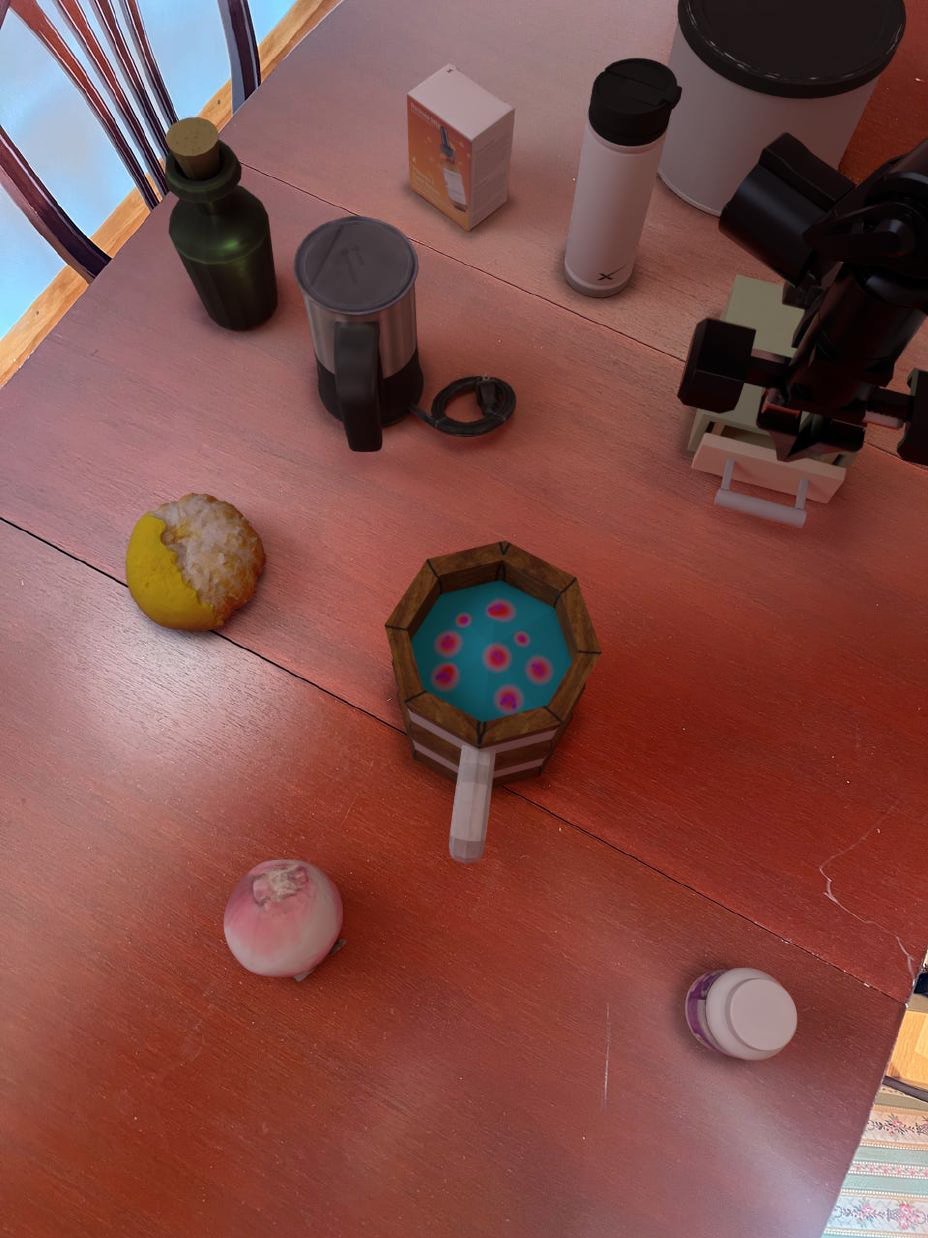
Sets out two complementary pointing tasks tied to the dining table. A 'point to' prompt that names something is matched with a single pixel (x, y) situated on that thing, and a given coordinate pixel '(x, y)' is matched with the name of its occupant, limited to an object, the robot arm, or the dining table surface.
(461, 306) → the dining table surface
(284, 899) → the turnip
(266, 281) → the potion bottle
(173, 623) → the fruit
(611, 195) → the travel mug
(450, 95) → the small box
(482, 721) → the mug
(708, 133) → the container
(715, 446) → the drawer
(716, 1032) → the pill bottle
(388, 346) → the milk frother
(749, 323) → the cabinet
